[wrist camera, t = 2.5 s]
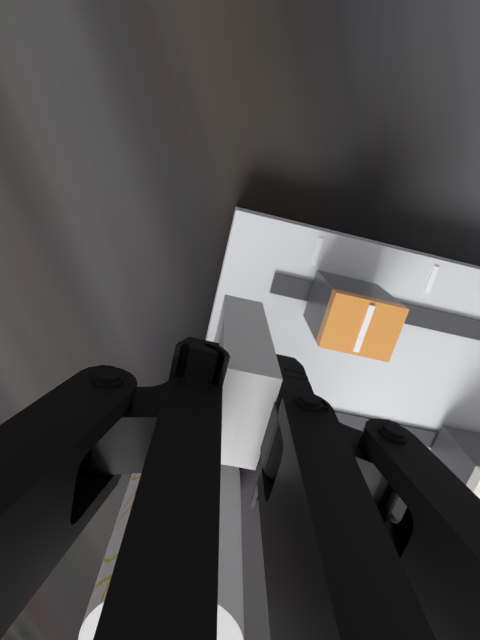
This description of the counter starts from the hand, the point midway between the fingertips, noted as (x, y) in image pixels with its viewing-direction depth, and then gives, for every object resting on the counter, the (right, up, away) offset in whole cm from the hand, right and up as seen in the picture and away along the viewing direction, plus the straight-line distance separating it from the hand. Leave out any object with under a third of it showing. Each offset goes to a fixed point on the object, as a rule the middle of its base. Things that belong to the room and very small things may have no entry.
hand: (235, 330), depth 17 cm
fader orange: (+6, +2, +8) cm, 10 cm away
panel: (+10, -2, +12) cm, 16 cm away
